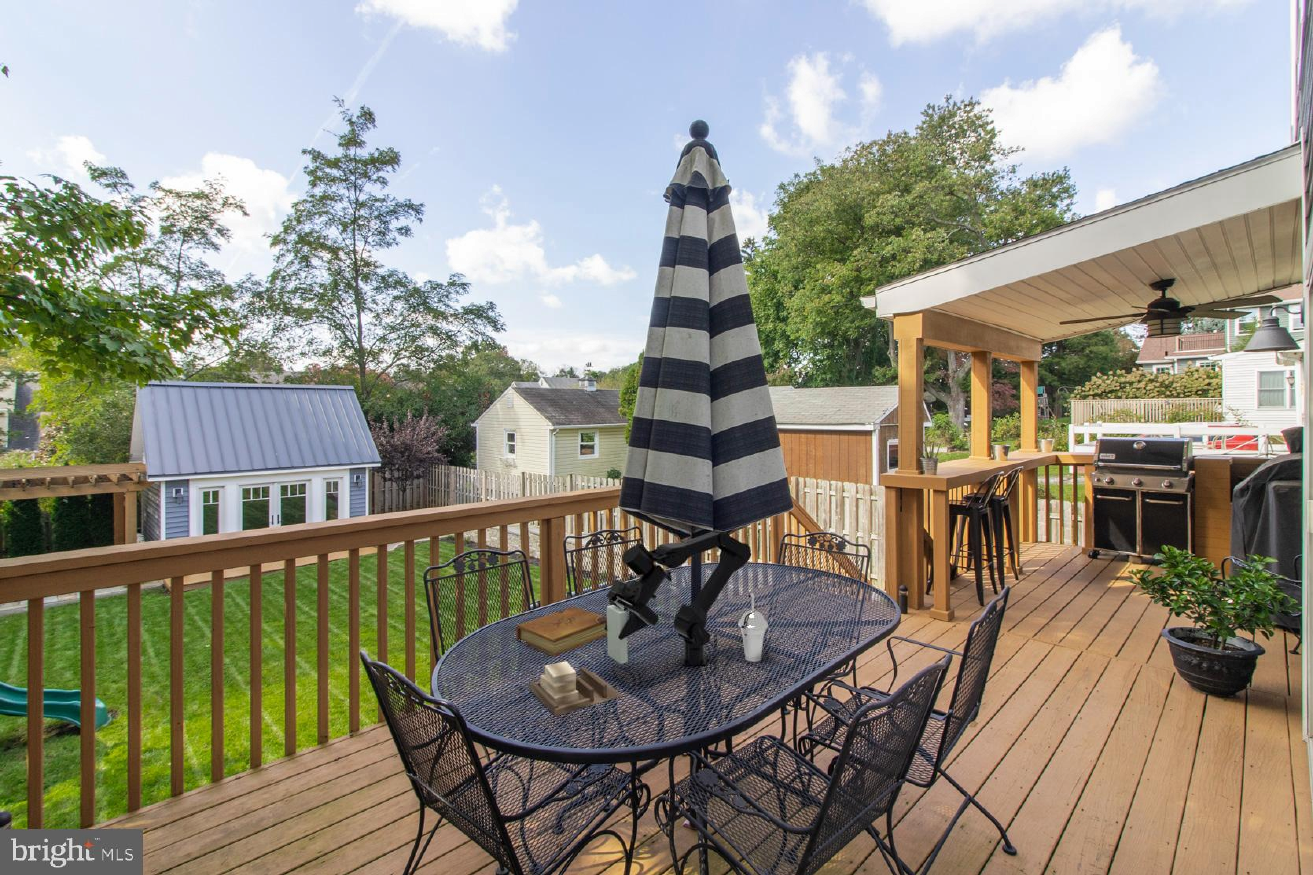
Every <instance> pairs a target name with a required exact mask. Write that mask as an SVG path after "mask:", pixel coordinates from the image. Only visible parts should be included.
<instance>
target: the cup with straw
mask: <svg viewBox="0 0 1313 875" xmlns="http://www.w3.org/2000/svg"><path fill="white" fill-rule="evenodd" d="M748 598H751V600H750V601H751V610H748V611H745V612H744V613H743V614H742V616H741V618H740V619H739V620H738V623H737V625H738V627H740V631H741V635H742V641H743V642H742V643H743V652H744V653H743V654H744V656H745V657H744V659H745V660H746V661H748V662H753V663H755V662H760V661H761V660H762V652H763V647H764V646H763V645H764V636H765V633H766V629H767V628H768V627H769V624H768V621H766V619H765V617H764V616H763V614H762V612H759V611H758V610H755V608H754V607H755V594H754V593H753V592H751V593H750V594H748Z"/></svg>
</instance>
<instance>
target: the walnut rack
mask: <svg viewBox="0 0 1313 875" xmlns="http://www.w3.org/2000/svg"><path fill="white" fill-rule="evenodd" d="M576 690H577V691H578V701H576V702H573V703H569V704H566V705H563V706H558V705H557V704H556V703H555V702H554V701H553V700H552V699H551V698H550V697H549V696H548V695H547V694H546V693H545V692H544V691H543V690H542V689H541V685H540V680H539V681H532V682H530V683H529V691H530V692H531V693H532V694H533V695H534V696H535V697H536V698H537V699H538V700H539V701H540V702H541V703H542V704H543V705H544V706H545V707H546V709H548V710H549V711H550V713H551V714H552V715H553V716H554V717H559V716H562V715H565V714H568V713H572V712H575V711H578V710H581V709H585V708H588V707H592V706H594V705H597V704H600V703H603V702H608V701H610V700H614V699H617V698H621V697H624V695H623V694H622V693H620V692H619V691H618V690H616V689H615V688H614V687H613V686H611V685H610V684H609V683H607V682H606V681H605V680H604V679H602V678H601V677H600V676H599V675H597V674H596V673H595V672H591V671H589V669H587V668H586V667H585V666H582V667H579V675H578V674H576Z"/></svg>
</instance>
